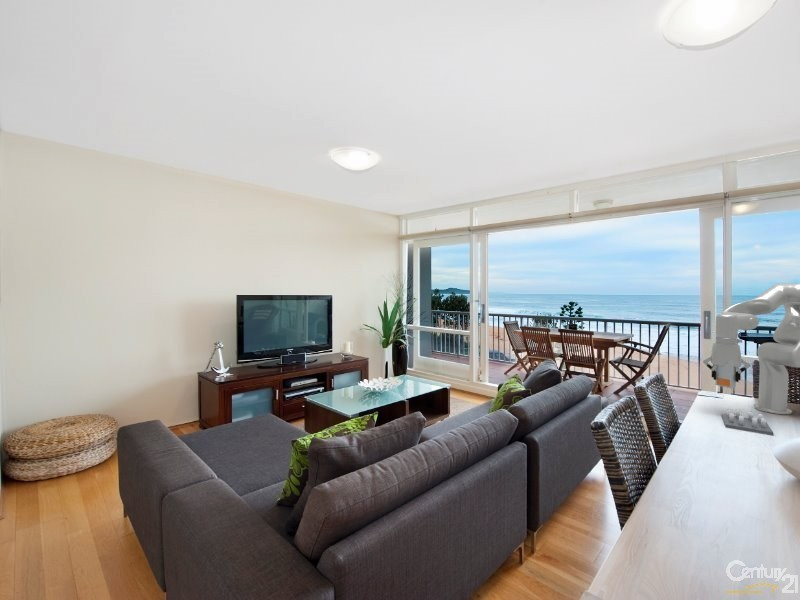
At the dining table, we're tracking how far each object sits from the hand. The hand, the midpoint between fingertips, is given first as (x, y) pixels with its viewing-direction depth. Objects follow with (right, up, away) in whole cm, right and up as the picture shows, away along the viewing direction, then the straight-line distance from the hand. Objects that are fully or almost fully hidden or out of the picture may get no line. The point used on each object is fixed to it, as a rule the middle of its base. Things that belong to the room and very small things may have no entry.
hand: (725, 380), depth 169 cm
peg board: (-3, -16, -13) cm, 21 cm away
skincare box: (0, -3, 0) cm, 3 cm away
